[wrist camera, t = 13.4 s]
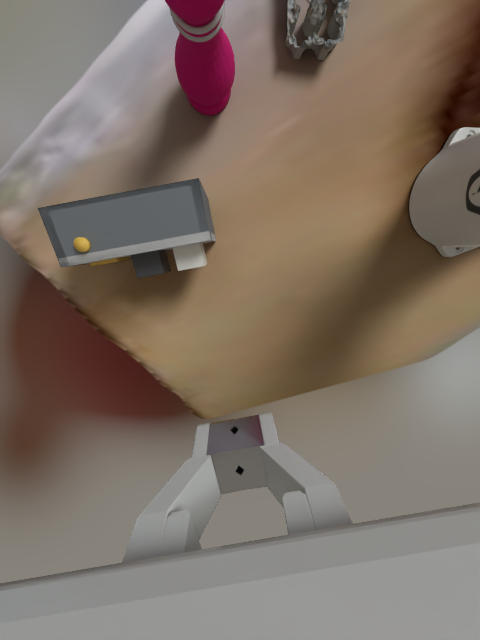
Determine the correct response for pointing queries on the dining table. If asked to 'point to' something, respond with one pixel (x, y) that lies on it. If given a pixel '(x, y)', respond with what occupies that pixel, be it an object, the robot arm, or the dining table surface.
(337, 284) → the dining table surface
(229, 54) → the pepper mill
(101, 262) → the amber button
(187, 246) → the white button
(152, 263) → the black button
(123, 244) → the console
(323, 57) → the egg carton
